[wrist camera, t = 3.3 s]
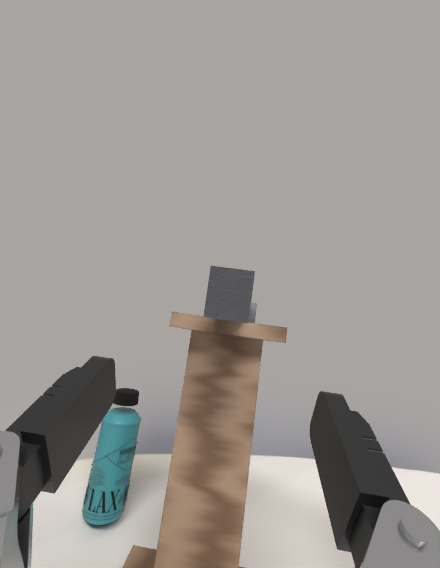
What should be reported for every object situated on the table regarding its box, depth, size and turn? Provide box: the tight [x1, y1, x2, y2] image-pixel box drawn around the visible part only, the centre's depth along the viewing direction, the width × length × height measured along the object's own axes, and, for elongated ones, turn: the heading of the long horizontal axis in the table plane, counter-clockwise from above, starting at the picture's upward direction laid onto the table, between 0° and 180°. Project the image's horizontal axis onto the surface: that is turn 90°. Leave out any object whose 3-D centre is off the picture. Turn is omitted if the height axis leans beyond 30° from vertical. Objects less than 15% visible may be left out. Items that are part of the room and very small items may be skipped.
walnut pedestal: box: [123, 303, 287, 568], centre depth 31 cm, size 18×16×36 cm
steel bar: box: [204, 266, 254, 323], centre depth 27 cm, size 3×18×4 cm, turn 178°
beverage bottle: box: [83, 388, 141, 525], centre depth 44 cm, size 6×7×20 cm
